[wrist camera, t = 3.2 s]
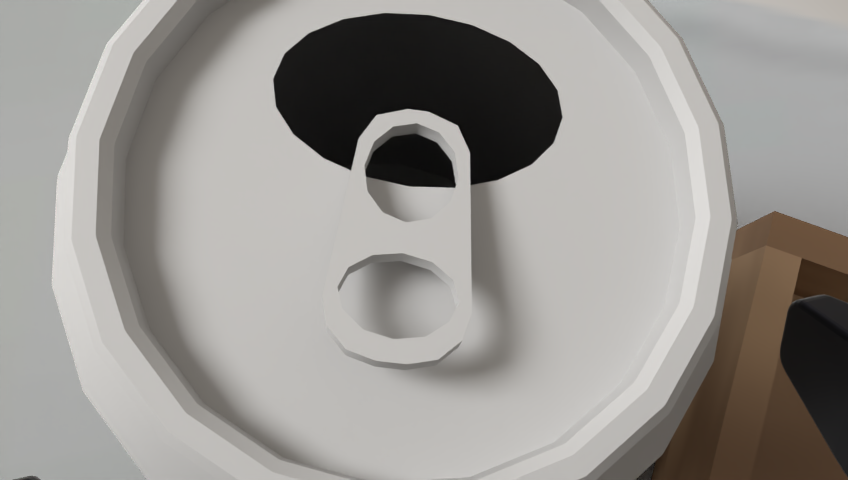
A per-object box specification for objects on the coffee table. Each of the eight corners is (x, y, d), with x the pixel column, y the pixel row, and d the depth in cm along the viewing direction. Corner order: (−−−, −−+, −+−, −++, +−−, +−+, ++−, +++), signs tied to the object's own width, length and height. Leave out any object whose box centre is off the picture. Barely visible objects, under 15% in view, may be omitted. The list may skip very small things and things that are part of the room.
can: (545, 194, 20) (814, -128, 8) (522, 506, 18) (821, 669, 6) (245, 156, 19) (72, -242, 8) (192, 472, 18) (-132, 580, 6)
